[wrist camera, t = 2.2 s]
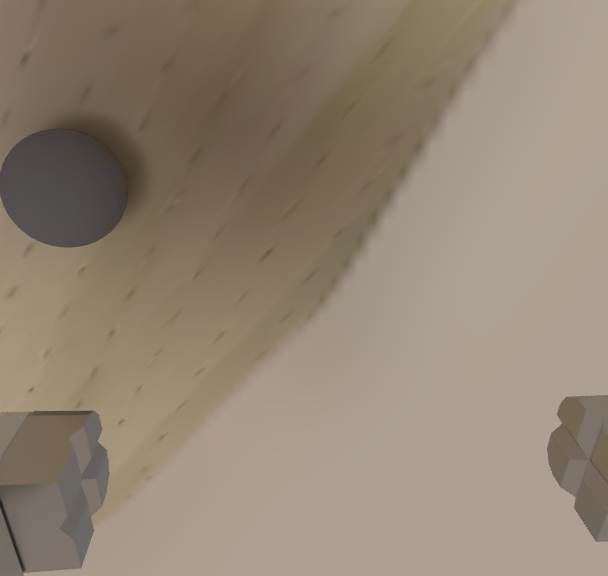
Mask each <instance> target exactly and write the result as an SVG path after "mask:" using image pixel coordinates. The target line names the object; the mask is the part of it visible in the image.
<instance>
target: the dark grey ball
mask: <svg viewBox="0 0 608 576" xmlns="http://www.w3.org/2000/svg"><path fill="white" fill-rule="evenodd" d="M0 195H1V199H2V202H3V205H4V207H5V209H6V211H7V213H8V215H9V216H10V218H11V219H12V220H13V222H14V223H15V224H16V225H17V226H18V227H19V228H20V229H21V230H22V231H24V232H25V233H26V234H28V235H29V236H31V237H32V238H34V239H36V240H38V241H40V242H43V243H45V244H49V245H52V246H58V247H79V246H84V245H88V244H91V243H93V242H95V241H97V240H99V239H101V238H103V237H104V236H106V235H107V234H108V233H109V232H110V231H112V230H113V229H114V227H115V226H116V225H117V224H118V222H119V221H120V219H121V217H122V215H123V213H124V210H125V207H126V203H127V183H126V178H125V175H124V172H123V170H122V168H121V166H120V164H119V162H118V161H117V159H116V158H115V157H114V155H113V154H112V153H111V152H110V151H109V150H108V149H107V148H106V147H105V146H104V145H102V144H101V143H100V142H99V141H97V140H95V139H94V138H92V137H90V136H88V135H86V134H83V133H80V132H77V131H72V130H66V129H49V130H44V131H40V132H37V133H34V134H32V135H30V136H28V137H26V138H24V139H23V140H22V141H20V142H19V143H18V144H16V145H15V146H14V147H13V149H12V150H11V151H10V152H9V154H8V155H7V157H6V158H5V161H4V163H3V165H2V169H1V172H0Z"/></svg>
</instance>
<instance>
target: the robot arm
mask: <svg viewBox="0 0 608 576" xmlns="http://www.w3.org/2000/svg"><path fill="white" fill-rule="evenodd" d="M557 416H558V417H559V419H560V421H561V423H562V424H561V425H560V426H559V427H558V428H557V429H556V430H555V431H553V432H552V433H551V436H550V439H549V444H548V447H547V451H548V461H549V465H550V468H551V471H552V474H553V476H554V477H555V479H556V480H557V482H558V484H559V485H560V487H561V488H563V489H564V490H566V491H567V492H569V493H570V494H572V495H574V496H575V497H576V498H575V505H574V509H575V510H576V512H577V513H578V515H579V516H580V518H581V519H582V521H583V522H584V524H585V525H586V527H587V529H588V530H589V532H590V533H591V535H592V536H593V538H594V539H595V540H596V542H597V541H598V542H600V541H608V395H599V396H572V397H566V398H565V399H564V400H563V401H562V402H561V404H560V406H559V410H558V413H557ZM101 432H102V426H101V422H100V417H99V414H98V413H96V412H95V411H34V412H2V413H0V576H24V575H23V573H28V572H40V571H52V570H65V569H78V568H81V567H82V564H83V561H84V558H85V555H86V552H87V550H88V547H89V544H90V541H91V538H92V535H93V532H94V528H93V524H92V519H91V516H92V515H93V514H94V513H96V512H97V511H98V510H99V509H100V508H101V507H102V505H103V502H104V499H105V495H106V492H107V485H108V478H109V460H108V455H107V450H106V449H105V448H104V447H103V446H102V445H101V444H99V443H98V440H99V437H100V434H101Z"/></svg>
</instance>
